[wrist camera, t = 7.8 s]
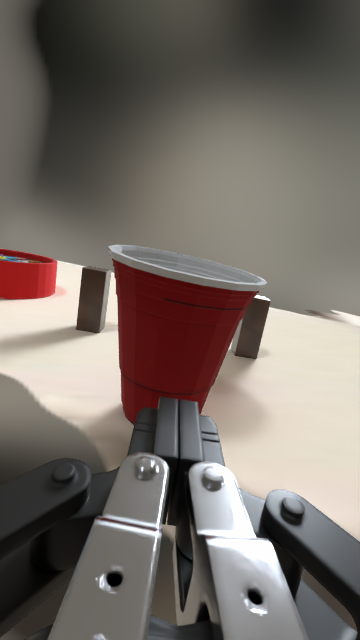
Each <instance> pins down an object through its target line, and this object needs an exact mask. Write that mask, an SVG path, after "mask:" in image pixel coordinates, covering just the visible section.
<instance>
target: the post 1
mask: <svg viewBox="0 0 360 640" xmlns="http://www.w3.org/2000/svg"><path fill="white" fill-rule="evenodd" d="M110 278H111V270H108V269H101V268H96V267H91V266H88V267H84V268H82V278H81V288H80V297H79V307H78V317H77V326H76V329H78V330H84V331H90V332H96V333H100V331H101V330H102V329H103V328H104V326H105V318H106V310H107V302H108V294H109V286H110Z"/></svg>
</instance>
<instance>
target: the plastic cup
mask: <svg viewBox="0 0 360 640" xmlns="http://www.w3.org/2000/svg"><path fill="white" fill-rule="evenodd" d="M108 250H109V254H110V256H111V257H112V260H113V266H114V267H115V268H114V269H115V279H116V294H117V298H118V334H119V367H120V370H121V398H122V403H123V410H124V413H125V416H126V417H127V418H128V419H129V420H130V421H131V422H132V423H133V424H134V425H135V421H136V417H137V413H138V412H139V411H140V410H141V409H143V408H144V407H149V408H155V409H158V404H159V398H160V396H162V397H168V398H175V399H178V402H179V399H181V400H188V401H194V402H198V408H199V415H200V413H201V411H202V408H203V406H204V403H205V401H206V398H207V396H208V393H209V390H210V388H211V386H212V385H213V384H214V382H215V379H216V377H217V375H218V372H219V370H220V367H221V365H222V363H223V360H224V358H225V356H226V353H227V351H228V348H229V346H230V344H231V341H232V339H233V337H234V334H235V332H236V329H237V327H238V325H239V322H240V320H242V319H243V316H244V314H245V312H246V310H247V308H248V307H249V306H250V304H251V302H252V300H253V298H254V297H255V296H256V294H257V293H258V292H259V290H262V289H264V288H265V286H266V285H267V282H266V281H265V280H263V279H262V278H260V277H258V276H255V275H253V274H251V273H249V272H246V271H243V270H240V269H237V268H233V267H230V266H227V265H224V264H220V263H216V262H212V261H209V260H205V259H201V258H197V257H192V256H188V255H183V254H179V253H173V252H169V251H163V250H158V249H152V248H145V247H138V246H128V245H113V246H109V247H108Z"/></svg>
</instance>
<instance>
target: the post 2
mask: <svg viewBox="0 0 360 640" xmlns="http://www.w3.org/2000/svg"><path fill="white" fill-rule="evenodd" d="M269 305H270V300H269V299H267V298H265V297H263V296H257V295H256V296H255V297H254V298H253V300H252V302H251V304H250V306H249V307H248V308H247V310H246V312H245V314H244V316H243V319H242V320H240V322H239V325H238V327H237V329H236V332H235V334H234V337H233V341H232V346H231V349H232V351H233V353H234V354H235V355H237V356H243V357H249V358H255V359H256V358H257V355H258V351H259V346H260V342H261V338H262V334H263V330H264V326H265V322H266V318H267V314H268V310H269Z"/></svg>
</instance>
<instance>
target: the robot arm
mask: <svg viewBox="0 0 360 640" xmlns="http://www.w3.org/2000/svg"><path fill="white" fill-rule="evenodd" d="M167 512H168V520H167V525H173V526H176V536H175V541H174V546H173V568H174V585H175V601H176V618H177V625H173V624H171V623H169V622H166V621H164V620H162V619H160V618H157V617H155V616H153V615H151V608H152V600H153V593H154V585H155V578H156V571H157V565H158V557H159V550H160V542H161V536H162V524H165V523H166V517H167ZM305 569H306V570H307V571H308V572H309V573H310V574H311V575H312V576H313V577H314V578H315V579H316V580H317V581H318V582H319V583H320V584H321V585H322V586H323V587H325V588H326V589H327V590H328V591H329V592H330V593H331V594H332V595H333V596H334V597H335V598H336V599H337V600H338V601H339V602H340V603H341V604H342V605H343V606H344V607H345V608H346V609H347V610H348V611H349V613H350V614H351V615H352V617H353V619H354V621H355V624H356V627H357V631H355V630H353V629H352V628H351V627H350V626H348V625H347V624H346V623H345V622H344V621H343V620H342V619H341V618H340V617H339V616H338V615H337V614H336V613H335V612H334V611H333V610H332V609H331V608H330V607H329V606H328V605H327V604H326V603H325V602H324V601H323V600H322V599H321V598H320V597H319V596H318V595H317V594H316V593H315V592H314V591H313V590H312V589H311V588H310V587H309V586H308V585H307V584H306V583H305V582H304V581H303V580H302V576H303V573H304V570H305ZM70 578H72V579H71V581H70V584H69V586H68V589H67V591H66V594H65V596H64V599H63V601H62V604H61V606H60V609H59V612H58V614H57V617H56V619H55V622H54V624H52V625H50V626H48V627H46V628H44V629H42V630H40V631H38V632H36V633H35V634H33V635H31V636H30V637H28V638H27V639H25V640H360V542H359V541H358V540H356V539H355V538H354V537H353V536H351V535H350V534H349V533H347V532H346V531H345V530H344V529H342V528H341V527H340V526H338V525H337V524H336V523H335V522H333V521H332V520H331V519H329V518H328V517H327V516H326V515H324V514H323V513H322V512H321V511H319V510H318V509H317V508H315V507H314V506H313V505H312V504H310V503H309V502H308V501H306V500H305V499H304V498H302V497H301V496H299V495H297V494H295V493H293V492H290V491H286V490H273V491H271V492H270V493H268V495H267V497H266V500H264V499H261V498H259V497H256V496H254V495H251V494H249V493H247V492H245V491H243V490H241V489H240V488H239V487H238V485H237V482H236V479H235V477H234V476H233V474H232V473H231V472H230V471H229V470H228V469H226V468H225V463H224V458H223V454H222V449H221V444H220V440H219V436H218V431H217V426H216V424H215V423H214V422H213V420H212V419H211V418H210V417H208V416H201V415H199V408H198V402H194V401H188V400H181V399H179V402H178V399H175V398H168V397H162V396H160V398H159V404H158V409H155V408H149V407H144V408H143V409H141V410H140V411H139V412H138V413H137V417H136V421H135V425H134V430H133V433H132V438H131V442H130V446H129V450H128V454H127V457H126V458H125V459H124V460H123V461H122V463H121V466H120V467H118V468H117V469H115V470H112V471H109V472H105V473H98V474H91V470H90V468H89V467H88V466H87V465H86V464H85V463H84V462H82V461H80V460H76V459H70V458H64V459H57V460H54V461H51V462H49V463H47V464H44V465H42V466H40V467H38V468H36V469H34V470H32V471H30V472H27V473H25V474H23V475H21V476H19V477H17V478H15V479H13V480H11V481H9V482H6V483H4V484H2V485H0V637H2V636H3V635H4V634H5V633H6V632H8V631H9V630H10V629H11V628H12V627H13V626H15V625H16V624H17V623H18V622H19V621H21V620H22V619H23V618H24V617H25V616H27V615H28V614H29V613H30V612H31V611H33V610H34V609H35V608H36V607H37V606H38V605H40V604H41V603H42V602H43V601H45V600H46V599H47V598H48V597H49V596H50V595H52V594H53V593H54V592H55V591H56V590H58V589H59V588H60V587H61V586H62V585H64V584H65V583H66V582H67V581H68V580H70Z"/></svg>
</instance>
